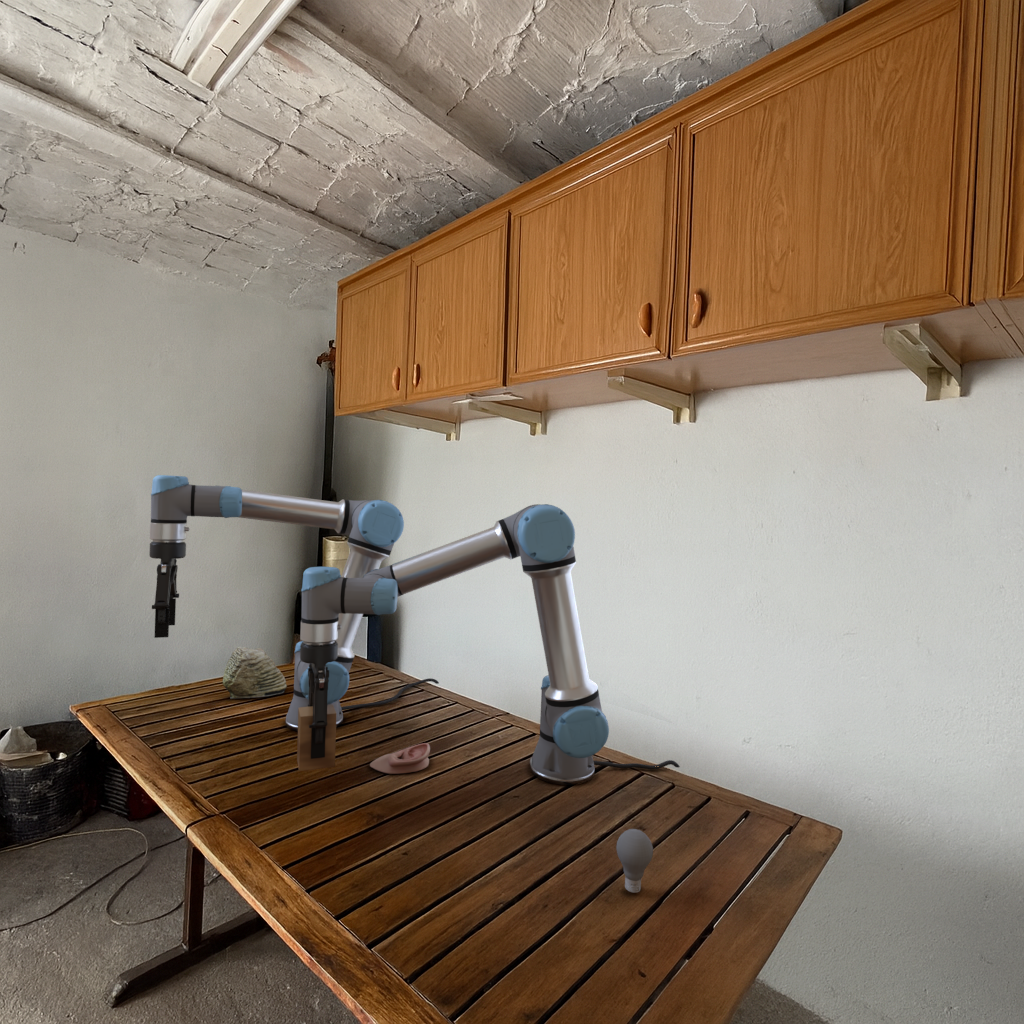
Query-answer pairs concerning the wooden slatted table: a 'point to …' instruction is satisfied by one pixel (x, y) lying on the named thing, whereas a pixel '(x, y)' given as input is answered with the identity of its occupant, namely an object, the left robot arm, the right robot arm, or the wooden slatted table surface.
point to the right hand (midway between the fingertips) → (316, 750)
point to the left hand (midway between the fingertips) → (165, 631)
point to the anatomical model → (404, 760)
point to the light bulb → (634, 857)
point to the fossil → (252, 674)
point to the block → (305, 740)
